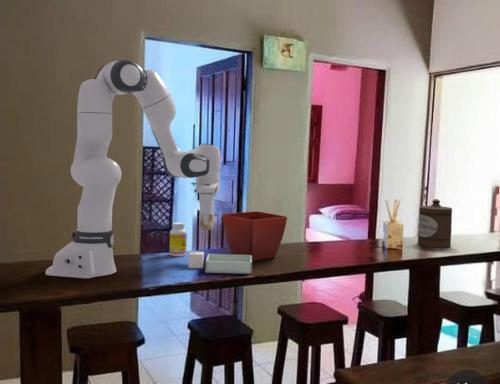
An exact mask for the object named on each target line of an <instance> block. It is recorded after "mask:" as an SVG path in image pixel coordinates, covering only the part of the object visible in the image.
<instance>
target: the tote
mask: <svg viewBox="0 0 500 384" xmlns="http://www.w3.org/2000/svg"><path fill="white" fill-rule="evenodd" d="M204 264H205V267H204V270H205V274H206V273H207V274H235V275H237V274H240V275H242V274H243V275H252V274H253V261H252V255H232V253H230V254H228V253H222V254H221V253H208V254H207V257H206V260H205V263H204Z"/></svg>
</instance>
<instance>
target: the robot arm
mask: <svg viewBox="0 0 500 384" xmlns="http://www.w3.org/2000/svg"><path fill="white" fill-rule="evenodd" d="M130 93H131V94H132V95H134V96H135V98H136V99H137V100H138V103H139V105H140V107H141V109H142V111H143V113H144V115H145V117H146V119H147V121H148V122H149V123H148V124H149V126H150V129H151V132H152V134H153V136H154V138H155V141H156V143H157V146H158V148H159V151H160V152H161V155H162V162H163V169H164V171H165V172H166V174H167V175H168V176H170V177H172V178H175V179H176V178H177V179H179V178H184V179H193V178H194V179H195V178H196V187H195V189H196V192H197V194H198V195H199V197H198V199H199V211H200V212H199V213H201V214H203V219H204V223H203V224H204V225H208V223H209V214H210V213H212V211H213V209H214V206H215V205H214V203H215V197H217V193H220V192H221V177H220V171H221V168H222V166H221V165H222V157H221V150H220V148H219V147H218V146H217V145H214V144H209V143H201V144H199V145H198V146H197V147H195V148H192V149H191V150H188V151H182V150H181V149H180V148H179V147H178V145H177V144H176V140H175V138H174V136H173V134H172V131H171V124H172V122H173V120H174V119H175V117H176V114H177V108H176V104H175V101H174V98H173V97H172V95H171V92H170V91H169V89H168V88H167V86H166V84H165V82H164V81H163V79H162V78H161V77H160V75H159V73H157V71H156V70H153V69H144V68H143V67H141V66H140V65H139V64H138V63H137V62H135V61H133V60H131V59H120V60H113V61H110V62H109V63H107V64H106V63H105V64H104V65H103V66H101V67H100V68H99V70H98V71H97V73H96V75H95V77H94V78H92V79H87V80H85V81H82V83H81V84H80V86H79V92H78V97H77V105H76V106H77V107H76V109H77V111H76V112H77V116H76V117H77V119H76V120H77V121H76V124H77V125H76V127H77V129H76V130H77V136H76V143H75V150H74V155H73V162H72V164H71V166H70V175H71V177H72V179H73V180H74V182H75V183H77V184H78V185H79V186H81V187H83V188H82V193H81V197H80V201H79V204H78V206H77V229H75V230H73V232H71V233H70V235H69V236H70V238H71V242H69V243H68V244H66V245H65V246H64V247H62V248H61V249H60V250H58V251H57V252H56V253H55V254H54V258H53V261H52V265H51V266H49V267H48V268H46V270H45V275H46V276H52V277H53V276H54V277H62V278H63V277H65V278H75V279H76V278H77V279H91V278H95V277H103V276H108V275H113V274H114V273H116V272H117V268H116V264H115V261H114V260H115V259H114V253H113V246H114V229H112V228H113V207H114V206H113V205H114V201H115V196H116V195H115V194H116V191H117V186H118V185H119V183H120V182H121V179H122V169H121V166H120V165H119V164H118V163H117V162H116V161H114V160H113V159H112V158H110V157H108V156H107V155H108V151H109V147H110V143H111V141H112V139H113V102H114V98H115V97H116V96H117V95H118V96H120V95H123V96H124V95H127V94H130Z"/></svg>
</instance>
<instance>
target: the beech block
mask: <svg viewBox="0 0 500 384" xmlns="http://www.w3.org/2000/svg"><path fill="white" fill-rule="evenodd" d="M199 213H200V214H199V227H198V231H199V230H200V231H204V230H205V231H214V224H215V223H214V221H215V213H214V212H211V213H210V214H209V223H208V225H204V224H203V223H204V219H203V214H201V212H199Z"/></svg>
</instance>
